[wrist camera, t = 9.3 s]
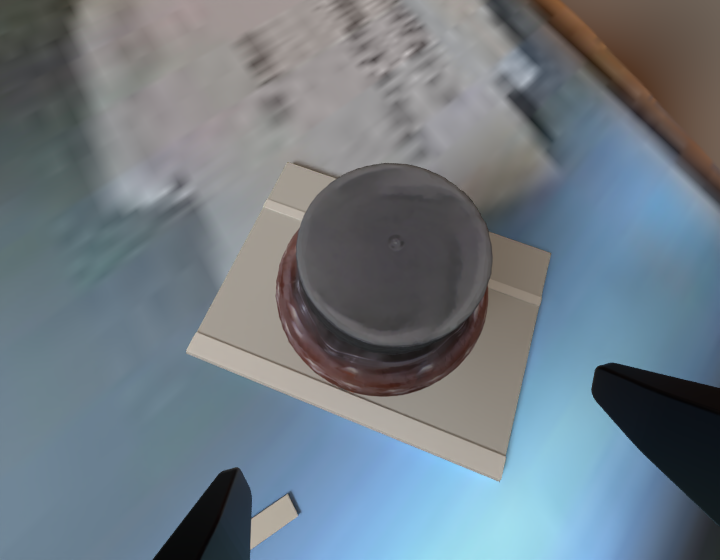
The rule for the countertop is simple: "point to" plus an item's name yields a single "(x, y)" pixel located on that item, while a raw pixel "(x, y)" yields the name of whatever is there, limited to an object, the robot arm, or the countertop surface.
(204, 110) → the countertop surface
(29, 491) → the countertop surface
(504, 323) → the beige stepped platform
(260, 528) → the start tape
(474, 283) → the supplement bottle
